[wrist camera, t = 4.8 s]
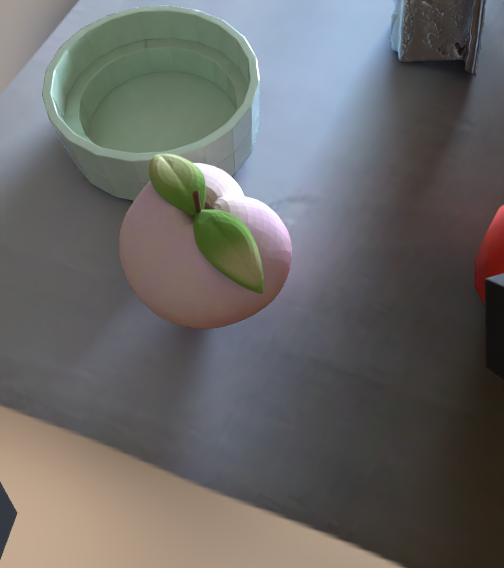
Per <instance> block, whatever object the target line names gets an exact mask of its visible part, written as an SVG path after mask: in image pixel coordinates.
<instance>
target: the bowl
mask: <svg viewBox="0 0 504 568" xmlns="http://www.w3.org/2000/svg"><path fill="white" fill-rule="evenodd" d="M42 97H43V100H44V103H45V107H46V110H47V114H48V117H49V120H50V121H51V123H52V125H53V127H54V128H55V130H56V132H57V134H58V136H59V137H60V139H61V141H62V143H63V144H64V146H65V148H66V150H67V152H68V153H69V155H70V157H71V159H72V160H73V162H74V164H75V165H76V166H77V168H78V169H79V170H80V171H81V172H82V173H83V174H84V176H85V177H86V178H87V179H88V180H89V181H90V182H91V184H93V185H95V186H97V187H99V188H100V189H102V190H104V191H106V192H108V193H109V194H111V195H113V196H115V197H118V198H123V199H128V200H133V201H134V200H135V199H136V198H137V196H138V195H139V193H140V192H141V191H142V189H143V188H144V187H145V186H146V185H147V184H148V183H149V182H150V181H151V180H150V175H149V165H150V162H151V160H152V158H153V156H155V155H157V154H173V155H177V156H180V157H183V158H185V159H187V160H189V161H190V162H192V163H202V164H207V165H210V166H214V167H216V168H219V169H221V170H223V171H225V172H226V173H227V174H229V175H230V176H233V175H234V174H236V172H237V171H238V170H239V168H240V167H241V166H242V165H243V163H244V162H245V161H246V159H247V158H248V157H249V156H250V154H251V153H252V150H253V147H254V143H255V140H256V137H257V134H258V130H259V74H258V65H257V58H256V56H255V54H254V53H253V51H252V49H251V48H250V46H249V44H248V43H247V41H246V39H245V38H244V37H243V36H242V35H241V34H240V33H238V32H237V31H236V30H235V29H233V28H232V27H231V26H230V25H228V24H227V23H226V22H225V21H223V20H221V19H218V18H216V17H213V16H211V15H209V14H206V13H204V12H201V11H199V10H194V9H187V8H181V7H174V6H152V7H138V8H133V9H129V10H125V11H122V12H118V13H114V14H110V15H107V16H105V17H103V18H101V19H99V20H97V21H95V22H93V23H91V24H89V25H87V26H85V27H84V28H82V29H80V30H79V31H78V32H77V33H75V34H74V35H73V36H72V37H71V38H70V39H69V40H67V41H66V42H65V43H64V44H63V45H62V46H61V47H60V48H59V49H58V51H57V53H56V54H55V56H54V58H53V59H52V61H51V63H50V64H49V66H48V68H47V69H46V72H45V79H44V85H43V91H42Z"/></svg>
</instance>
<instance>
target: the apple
mask: <svg viewBox="0 0 504 568" xmlns="http://www.w3.org/2000/svg"><path fill="white" fill-rule="evenodd" d="M503 273H504V205H502V206H501V207H500V208H499V210H498V211H497V213H496V215H495V217H494V219H493V221H492V223H491V225H490V227H489V229H488V231H487V233H486V236H485V238H484V241H483V243H482V246H481V248H480V251H479V253H478V256H477V258H476V261H475V288H476V290H477V292H478V294H479V296H480V297H481V299H482V301H483V303H484V305H485V307H486V304H485V278H489V277H492V276H496V275H499V274H503Z"/></svg>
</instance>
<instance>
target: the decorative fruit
mask: <svg viewBox="0 0 504 568" xmlns="http://www.w3.org/2000/svg"><path fill="white" fill-rule="evenodd" d="M149 175H150V180H151V181H150V182H149V183H148V184H147V185H146V186H145V187H144V188H143V189H142V191H141V192H140V193H139V195H138V196H137V198H136V199H135V200H134V202H133V203H132V205H131V207H130V208H129V210H128V212H127V213H126V215H125V218H124V220H123V222H122V225H121V230H120V235H119V252H120V259H121V263H122V266H123V270H124V272H125V275H126V277H127V279H128V281H129V283H130V285H131V287H132V289H133V290H134V292H135V293H136V294H137V296H138V297H139V298H140V299H141V300H142V301H143V302H144V303H145V304H146V305H147V306H148V307H149V308H150V309H151V310H152V311H153V312H155V313H156V314H157V315H159V316H160V317H162V318H164V319H165V320H167V321H170V322H172V323H174V324H178V325H181V326H186V327H191V328H200V329H210V328H217V327H222V326H226V325H230V324H233V323H236V322H239V321H241V320H244V319H246V318H248V317H250V316H252V315H254V314H255V313H257V312H259V311H260V310H262V309H263V308H264V307H266V306H267V305H268V304H269V303H270V302H272V300H273V299H274V298H275V297H276V296H277V295H278V293H279V292H280V290H281V289H282V287H283V285H284V283H285V281H286V279H287V276H288V273H289V270H290V265H291V260H292V244H291V240H290V236H289V233H288V231H287V229H286V227H285V225H284V223H283V222H282V221H281V219H280V218H279V217H278V215H277V214H276V213H275V212H274V211H273V210H271V209H270V208H269V207H268V206H267V205H265V204H264V203H262V202H260V201H258V200H256V199H253V198H249V197H244V194H243V192H242V190H241V188H240V186H239V185H238V184H237V182H236V181H235V180H234V179H233V178H232V177H231V176H230V175H229V174H227V173H226V172H225V171H223V170H221V169H219V168H216V167H214V166H210V165H207V164H202V163H192V162H190V161H189V160H187V159H185V158H183V157H180V156H177V155H173V154H157V155H155V156H153V158H152V160H151V162H150V165H149Z"/></svg>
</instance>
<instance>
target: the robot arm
mask: <svg viewBox="0 0 504 568" xmlns="http://www.w3.org/2000/svg"><path fill="white" fill-rule="evenodd" d="M485 304H486V367H487V368H488V369H490V370H491V371H493V372H494V373H495V374H497V375H498V376H499V377H501V378H502V379H504V273H503V274H499V275H496V276H492V277H489V278H485ZM16 515H17V512H16V510H15V508H14V506H13V504H12V502H11V501H10V499H9V497H8V495H7V493H6V492H5V490H4V488H3V486H2V484H1V482H0V559H1V556H2V553H3V551H4V548H5V545H6V543H7V540H8V537H9V534H10V531H11V529H12V526H13V524H14V521H15V518H16Z"/></svg>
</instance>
